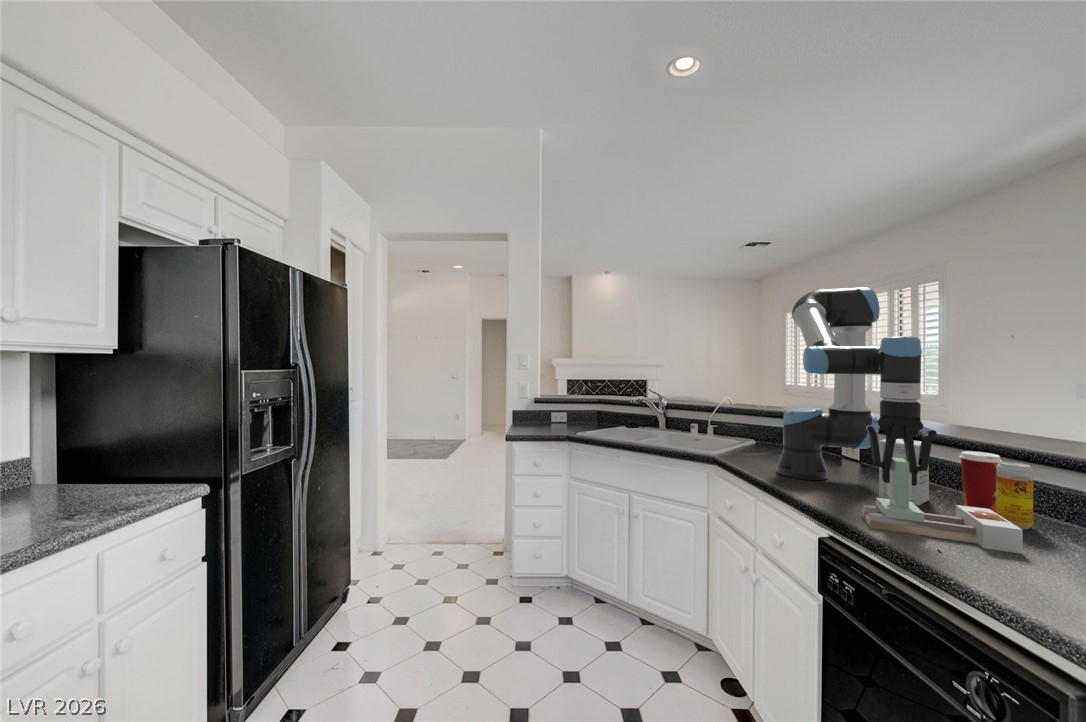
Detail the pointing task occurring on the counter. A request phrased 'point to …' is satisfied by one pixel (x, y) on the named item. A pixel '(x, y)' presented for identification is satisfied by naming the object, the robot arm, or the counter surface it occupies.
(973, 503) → the coffee cup
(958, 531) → the rail track
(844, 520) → the counter surface
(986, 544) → the white rectangular block
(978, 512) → the button
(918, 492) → the supplement box
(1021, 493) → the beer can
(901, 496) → the stand
